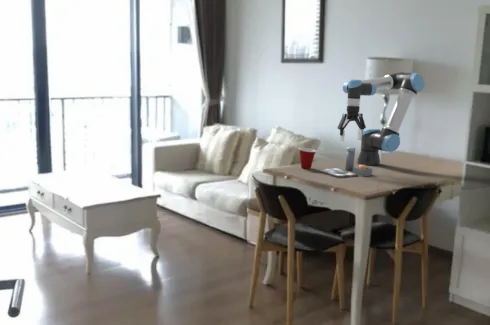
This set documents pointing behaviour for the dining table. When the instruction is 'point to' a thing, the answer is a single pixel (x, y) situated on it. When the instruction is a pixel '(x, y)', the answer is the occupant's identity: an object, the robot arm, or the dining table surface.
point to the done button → (362, 166)
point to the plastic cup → (306, 157)
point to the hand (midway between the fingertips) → (350, 140)
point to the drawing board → (337, 173)
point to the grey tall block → (350, 158)
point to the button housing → (362, 171)
